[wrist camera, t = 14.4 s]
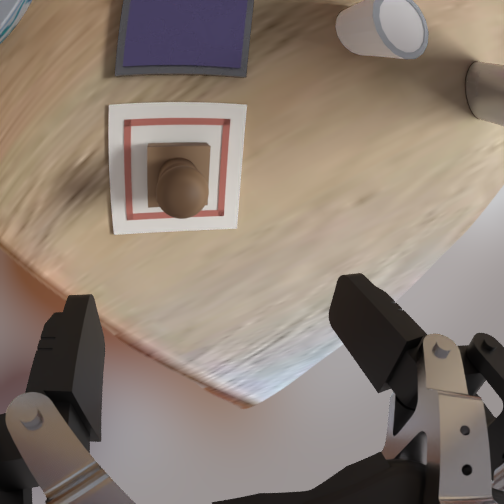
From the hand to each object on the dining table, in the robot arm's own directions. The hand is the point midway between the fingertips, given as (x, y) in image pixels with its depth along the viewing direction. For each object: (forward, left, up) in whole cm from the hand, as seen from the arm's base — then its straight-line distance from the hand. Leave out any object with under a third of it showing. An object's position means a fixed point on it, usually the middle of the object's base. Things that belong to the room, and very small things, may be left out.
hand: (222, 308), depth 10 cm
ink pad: (0, -13, -20) cm, 24 cm away
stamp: (0, 0, -20) cm, 20 cm away
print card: (0, 0, -20) cm, 20 cm away
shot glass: (-17, -16, -20) cm, 31 cm away
